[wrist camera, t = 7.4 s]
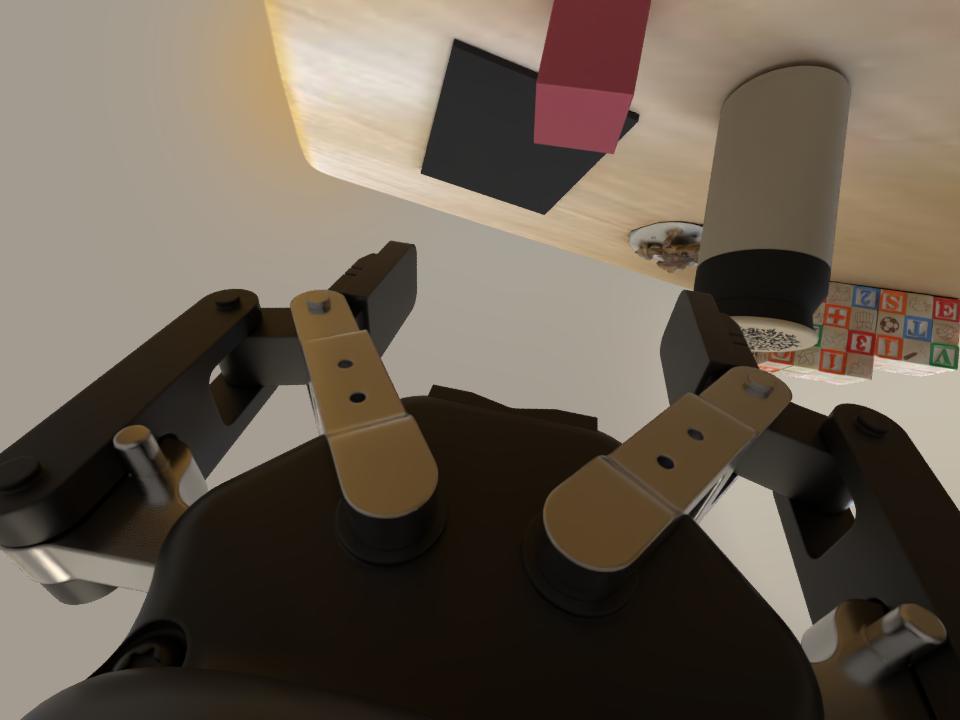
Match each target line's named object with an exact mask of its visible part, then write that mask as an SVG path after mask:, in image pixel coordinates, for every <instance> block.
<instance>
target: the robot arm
mask: <svg viewBox="0 0 960 720" xmlns="http://www.w3.org/2000/svg"><path fill="white" fill-rule="evenodd" d="M416 253H417V252H416V247H415V245H414V244H408V243H402V242H396V241H389V242H388V243H387V244H386V246H385V247H384V248H383V249H382V250H381V251H380V252H379V253H378V254H375V253H372V254H369V255H367V256H365V257H362V258H360V259H359V260H358V261H357V262H356V263H355V264H354V265H353V266H352V267H351V268H350V269H348V270H347V271H346V272H345V275H342V276H341V277H340V278H339V279H338V280H337V281H336V282H335V283H334V284H333V285H332V286H331V287H330V288H329V289H328V290H314V291H308V292H305V293H302V294H300V295H298V296H297V297H295V298H294V299H293V300H292V301H291V303H290V308H261V307H260V304H259V300H258V296H257V295H256V294H255V293H253V292H251V291H248V290H244V289H228V290H222V291H218V292H214V293H212V294H209V295H207V296H206V297H204V298H202V299H201V300H200V301H198V302H197V303H196V304H195V305H193V306H192V307H191V308H190V309H188V310H187V311H185V312H184V313H183V314H182V315H180V316H179V317H178V318H177V319H175V320H174V321H172V322H171V323H170V324H169V325H167V326H166V327H165V328H163V329H162V330H161V331H160V332H158V333H157V334H155V335H154V336H153V337H152V338H150V339H149V340H148V341H146V342H145V343H144V344H142V345H141V346H140V347H139V348H137V349H136V350H135V351H133V352H132V353H131V354H130V355H128V356H127V357H126V358H124V359H123V360H122V361H120V362H119V363H118V364H116V365H115V366H114V367H113V368H111V369H110V370H109V371H107V372H106V373H105V374H103V375H102V376H101V377H99V378H98V379H97V380H96V381H94V382H93V383H92V384H90V385H89V386H88V387H87V388H85V389H84V390H83V391H81V392H80V393H79V394H78V395H76V396H75V397H74V398H72V399H71V400H70V401H68V402H67V403H66V404H64V405H63V406H62V407H60V408H59V409H58V410H57V411H55V412H54V413H53V414H51V415H50V416H49V417H48V418H46V419H45V420H43V421H42V422H41V423H40V424H38V425H37V426H36V427H34V428H33V429H32V430H31V431H29V432H28V433H27V434H25V435H24V436H23V437H21V438H20V439H19V440H17V441H16V442H15V443H13V444H12V445H11V446H10V447H8V448H7V449H6V450H4V451H3V452H2V453H0V551H1V552H2V553H3V554H4V555H5V556H6V557H7V558H8V559H9V560H11V561H12V562H13V563H14V564H15V565H16V566H17V567H18V568H19V569H20V570H21V571H23V572H24V573H25V574H26V575H27V576H28V577H29V578H31V580H33V581H35V582H38V583H40V584H41V585H42V586H43V587H45V588H46V589H47V590H48V591H49V592H50V593H51V594H52V595H53V596H54V597H55V598H56V599H58V600H59V601H60V602H62V603H65V604H69V605H79V604H85V603H89V602H92V601H95V600H98V599H100V598H102V597H104V596H106V595H108V594H109V593H111V592H112V591H114V590H115V589H117V588H118V587H121V588H127V589H131V590H136V591H141V592H146V593H147V596H146V599H145V601H144V603H143V606H142V608H141V610H140V613H139V615H138V617H137V619H136V621H135V623H134V624H133V626H132V628H131V630H130V632H129V634H128V635H127V637H126V638H125V640H124V641H123V642H122V644H121V645H120V646H119V647H118V649H117V650H116V651H115V652H114V653H113V654H112V655H111V657H110V658H109V659H108V660H107V661H106V662H105V663H104V664H103V665H102V666H101V667H100V668H98V669H97V670H96V671H95V672H94V673H93V674H92V675H90V676H89V677H88V678H87V679H86V680H84V681H82V682H80V683H77V684H75V685H73V686H71V687H69V688H67V689H65V690H62V691H61V692H59V693H57V694H56V695H54V696H52V697H50V698H49V699H47V700H45V701H44V702H42V703H41V704H40V705H38V706H37V707H36V708H34V709H33V710H32V711H30V712H29V713H28V714H27V715H25V716H24V717H23V718H22V719H21V720H960V511H959V510H958V508H957V507H956V505H955V504H954V502H953V501H952V499H951V498H950V496H949V495H948V494H947V492H946V491H945V489H944V488H943V486H942V485H941V483H940V482H939V480H938V479H937V478H936V476H935V474H934V473H933V471H932V470H931V469H930V467H929V466H928V464H927V463H926V462H925V460H924V458H923V457H922V455H921V454H920V452H919V451H918V450H917V448H916V447H915V445H914V444H913V442H912V441H911V439H910V438H909V436H908V435H907V433H906V432H905V431H904V430H903V429H902V428H901V427H900V426H899V425H898V424H897V423H896V422H894V421H893V420H891V419H890V418H888V417H887V416H885V415H883V414H881V413H879V412H877V411H875V410H873V409H870V408H867V407H865V406H861V405H856V404H848V403H847V404H840V405H838V406H836V407H835V408H834V410H833V411H832V412H831V414H830V415H829V416H826V415H823V414H820V413H818V412H815V411H812V410H809V409H807V408H804V407H801V406H799V405H796V404H794V403H792V402H790V401H791V400H792V393H791V390H790V389H789V388H788V386H787V385H786V384H785V383H784V382H783V381H781V380H780V379H779V378H777V377H776V376H774V375H772V374H770V373H768V372H766V371H763V370H761V369H759V367H758V365H757V362H756V360H755V358H754V356H753V354H752V352H751V350H750V348H749V347H748V343H747V341H746V339H745V338H743V336H744V335H743V333H742V331H741V329H740V327H739V325H738V324H737V323H736V322H735V321H734V320H733V319H732V318H731V317H729V316H728V315H727V314H725V313H720V312H719V310H718V308H717V305H716V303H715V301H714V298H713V296H712V295H711V294H707V293H701V292H695V291H689V290H683V291H682V292H681V293H680V295H679V297H678V300H677V302H676V304H675V307H674V310H673V312H672V314H671V317H670V319H669V322H668V324H667V327H666V329H665V332H664V335H663V337H662V341H661V346H660V357H661V362H662V367H663V373H664V377H665V383H666V388H667V393H668V399H669V403H670V407H668V408H667V409H666V410H665V411H663V412H662V413H661V414H659V415H658V416H657V417H656V418H654V419H653V420H652V421H651V422H649V423H648V424H647V425H646V426H644V427H643V428H642V429H641V430H639V431H638V432H637V433H635V434H634V435H633V436H632V437H630V438H629V439H628V440H627V441H625V442H624V443H623V444H622V443H621V442H619V441H617V440H616V439H614V438H613V437H611V436H609V435H607V434H605V433H603V432H600V431H598V430H597V418H596V417H591V416H585V415H581V414H576V413H571V412H566V411H561V410H556V409H515V408H510V407H507V406H504V405H502V404H499V403H497V402H495V401H492V400H489V399H487V398H485V397H482V396H480V395H477V394H475V393H472V392H467V391H462V390H458V389H453V388H448V387H442V386H438V385H433V386H432V388H431V390H430V392H429V395H428V396H412V397H406V398H402V399H400V398H399V396H398V394H397V392H396V390H395V388H394V385H393V383H392V381H391V379H390V377H389V375H388V373H387V371H386V369H385V366H384V364H383V362H382V360H381V357H382V355H383V354H384V352H385V351H386V349H387V348H388V346H389V344H390V343H391V341H392V340H393V338H394V337H395V335H396V334H397V332H398V331H399V329H400V327H401V326H402V324H403V323H404V321H405V320H406V318H407V317H408V315H409V314H410V312H411V311H412V309H413V307H414V304H415V301H416V294H417V254H416ZM218 364H219V366H220V369H221V371H222V372H221V373H220V374H219V375H218V376H217V378H216V379H215V380H214V381H213V382H212V383H211V384H210V385H209V380H210V376H211V373H212V371H213V369H214V368H215V367H216V366H217V365H218ZM304 384H306V385H307V390H308V393H309V397H310V402H311V405H312V409H313V413H314V417H315V421H316V425H317V429H318V433H319V436H318V437H316V438H314V439H312V440H310V441H308V442H306V443H304V444H302V445H300V446H298V447H296V448H294V449H292V450H290V451H287V452H285V453H283V454H281V455H279V456H277V457H275V458H273V459H271V460H269V461H267V462H265V463H263V464H261V465H259V466H257V467H255V468H253V469H251V470H249V471H247V472H245V473H243V474H240V475H238V476H236V477H234V478H232V479H230V480H228V481H226V482H224V483H222V484H220V485H219V486H217V487H215V488H213V489H211V490H210V491H208V492H207V484H206V481H205V480H206V478H207V477H208V476H209V475H210V473H211V472H212V471H213V469H214V468H215V467H216V466H217V464H218V463H219V462H220V460H221V459H222V458H223V456H224V455H225V454H226V453H227V451H228V450H229V449H230V448H231V446H232V445H233V444H234V442H235V441H236V440H237V439H238V437H239V436H240V435H241V434H242V432H243V431H244V429H245V428H246V427H247V426H248V425H249V423H250V422H251V421H252V419H253V418H254V417H255V415H256V414H257V413H258V412H259V410H260V409H261V408H262V407H263V405H264V404H265V403H266V401H267V400H268V399H269V398H270V396H271V395H272V394H273V393H274V391H275V390H276V389H277V387H278V385H304ZM739 476H741V477H744V478H746V479H748V480H750V481H753V482H755V483H757V484H759V485H761V486H764V487H766V488H768V489H771V490H773V496H774V499H775V502H776V505H777V509H778V512H779V515H780V518H781V522H782V525H783V529H784V532H785V535H786V539H787V542H788V545H789V548H790V552H791V555H792V558H793V561H794V565H795V568H796V571H797V575H798V578H799V581H800V584H801V588H802V591H803V595H804V598H805V601H806V604H807V608H808V611H809V614H810V618H811V621H812V624H813V626H812V627H810V628H809V629H808V630H806V632H805V633H804V634H803V637H802V640H801V644H800V643H799V641H798V640H797V638H796V637H795V635H794V634H793V633H792V631H791V630H790V629H789V627H788V626H787V625H786V623H785V622H784V621H783V620H782V619H781V617H780V616H779V615H778V614H777V613H776V612H775V611H774V610H773V608H772V607H771V606H770V605H769V604H768V603H767V602H766V600H765V599H764V598H763V597H762V596H761V595H760V594H759V593H758V592H757V590H756V589H755V588H754V587H753V586H752V585H751V584H750V583H749V581H748V580H747V579H746V578H745V577H744V576H743V575H742V573H741V572H740V571H739V570H738V569H737V568H736V567H735V566H734V564H733V563H732V562H731V561H730V560H729V559H728V558H727V557H726V555H725V554H724V553H723V552H722V551H721V550H720V549H719V548H718V546H717V545H716V544H715V543H714V542H713V541H712V540H711V539H710V538H709V536H708V535H707V534H706V533H705V532H704V531H703V530H702V528H701V527H700V526H699V525H698V524H699V523H700V521H701V520H702V519H703V518H704V516H705V515H706V514H707V513H708V512H709V511H710V509H711V508H712V507H713V506H714V505H715V504H716V503H717V501H718V500H719V499H720V498H721V497H722V495H724V493H725V492H726V491H727V490H728V489H729V488H730V486H731V485H732V484H733V483H734V482H735V481H736V479H737V478H738V477H739ZM853 503H854V504H855V507H856V518H855V519H854V517H853V514H852V512H851V510H850V508H849V507H850V506H851V505H852V504H853Z"/></svg>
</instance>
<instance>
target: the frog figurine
mask: <svg viewBox="0 0 960 720" xmlns="http://www.w3.org/2000/svg"><path fill="white" fill-rule="evenodd" d="M702 231H703V226H698V225H694V224H689V223H683V222H668V223H657V224H653V225H651V226H647V227H642V228H640V229H637V230H635V231H632V232H631V233H630V234H629V236H628V237H629V240H628V241H629V244H630V245H631V247H632V248H633V250H634V251H635V253H637V254H638V255H639V256H640V257H642V258H645V259H647V260H651V259H655V260H659V261H658V262H657V265H658V266H659V267H660V268H662V269H664V270H667V272H668V273H673V272H674V271H680V270H682V269H685V267H687V266H692V265H697V264H698V257H699V251H700V244H701V238H702ZM660 241H661V242H660Z"/></svg>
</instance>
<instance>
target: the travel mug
mask: <svg viewBox="0 0 960 720" xmlns="http://www.w3.org/2000/svg"><path fill="white" fill-rule="evenodd" d="M850 94H851V90H850V86H849V83H848V81H847V80H846V79H845V78H844V77H843V76H842V75H841V74H839V73H838V72H836V71H834V70H831V69H828V68H824V67H818V66H793V67H787V68H782V69H778V70H774V71H771V72H768V73H765V74H763V75H760V76H758V77H756V78H754V79H752V80H750V81H748V82H747V83H745V84H743V85H742V86H741V87H739V88H738V89H737V90H735V91H734V92H733V93H732V94H731V95H730V96H729V98H728V99H727V100H726V102H725V103H724V105H723V107H722V109H721V113H720V119H719V126H718V132H717V139H716V146H715V152H714V159H713V165H712V172H711V178H710V185H709V192H708V198H707V205H706V211H705V218H704V224H703V231H702V238H701V244H700V251H699V257H698V264H697V270H696V277H695V284H694V291H695V292H701V293H707V294H711V295H712V296H713V298H714V301H715V303H716V305H717V308H718V310H719V312H720V313H725V314H727V315H728V316H729V317H731V318H732V319H733V320H734V321H735V322H736V323H737V324H738V325H739V327H740V329H741V331H742V333H743V335H744V336H743V338H745V339H746V341H747V343H748V347H749V348H750V350H751V351H755V352H787V351H797V350H802V349H806V348H809V347H812V346H814V345H815V344H816V343H817V342H818V339H819V337H818V334H817V333H816V332H815V331H814V327H813V314H814V312H815V311H816V310H817V309H818V307H819V306H820V305H821V304H822V302H823V301H824V300H825V299H826V297H827V296H828V292H829V283H830V274H831V265H832V256H833V247H834V238H835V229H836V220H837V211H838V202H839V193H840V184H841V175H842V166H843V157H844V148H845V139H846V130H847V121H848V112H849V103H850Z"/></svg>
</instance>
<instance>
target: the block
mask: <svg viewBox="0 0 960 720" xmlns="http://www.w3.org/2000/svg"><path fill="white" fill-rule="evenodd" d="M650 4H651V0H554V3H553V8H552V12H551V17H550V22H549V26H548V31H547V36H546V40H545V45H544V50H543V54H542V59H541V64H540V68H539V73H538V78H537V82H536V102H535V124H534V143H537V144H544V145H551V146H559V147H566V148H573V149H581V150H588V151H595V152H603V153H610V154H614V152H615V149H616V146H617V143H618V140H619V137H620V134H621V131H622V128H623V125H624V122H625V119H626V116H627V114H628V111H629V108H630V105H631V102H632V99H633V96H634V91H635V86H636V80H637V75H638V69H639V64H640V59H641V53H642V48H643V42H644V37H645V31H646V26H647V20H648V15H649V9H650Z"/></svg>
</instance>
